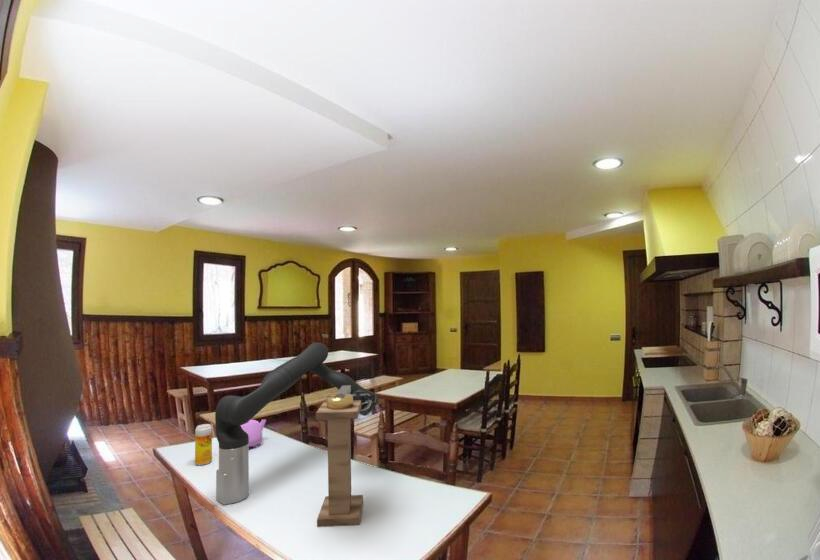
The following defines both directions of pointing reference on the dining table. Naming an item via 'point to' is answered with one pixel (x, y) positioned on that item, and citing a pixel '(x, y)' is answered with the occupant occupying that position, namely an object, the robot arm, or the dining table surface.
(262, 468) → the dining table surface
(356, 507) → the wooden stand
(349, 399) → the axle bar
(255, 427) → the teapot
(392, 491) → the dining table surface
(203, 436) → the beer can
